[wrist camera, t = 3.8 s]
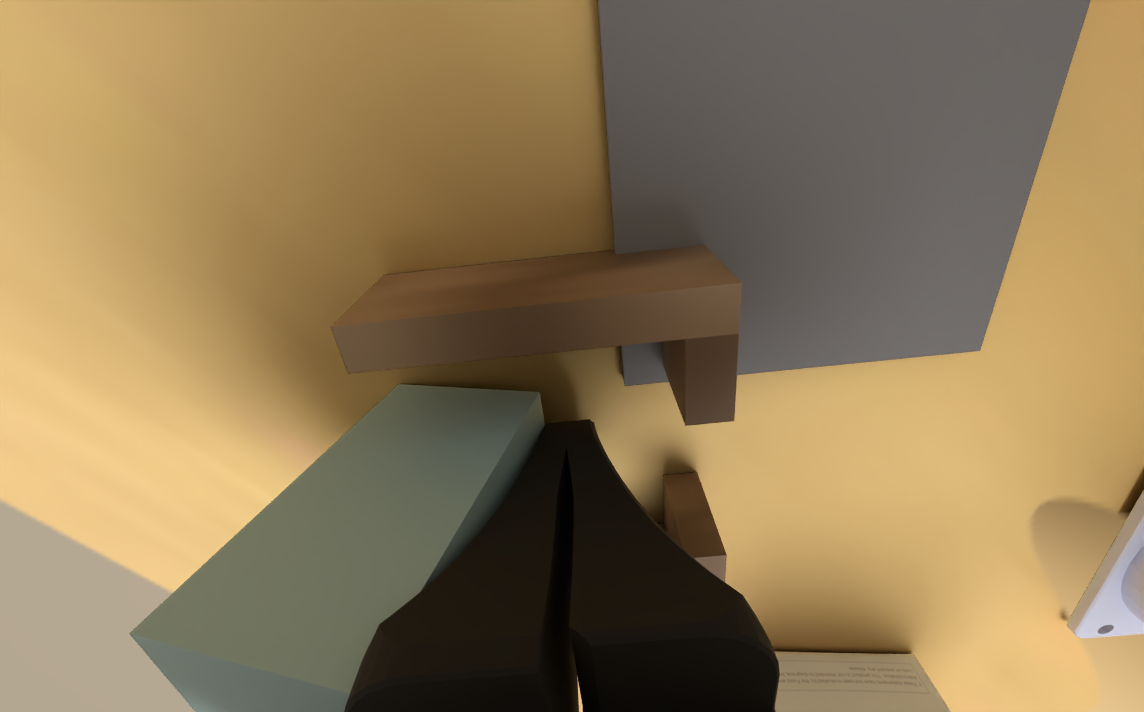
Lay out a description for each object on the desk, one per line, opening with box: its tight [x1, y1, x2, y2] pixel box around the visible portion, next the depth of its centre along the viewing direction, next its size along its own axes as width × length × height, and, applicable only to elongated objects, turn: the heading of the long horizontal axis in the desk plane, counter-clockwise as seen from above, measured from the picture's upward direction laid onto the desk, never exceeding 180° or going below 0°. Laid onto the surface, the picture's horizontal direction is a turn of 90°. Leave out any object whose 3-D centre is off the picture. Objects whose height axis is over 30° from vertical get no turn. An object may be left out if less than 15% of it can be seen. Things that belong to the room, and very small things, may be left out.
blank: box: [130, 384, 545, 712], centre depth 10 cm, size 4×4×7 cm
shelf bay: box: [331, 245, 742, 582], centre depth 12 cm, size 8×10×3 cm
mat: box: [597, 0, 1090, 386], centre depth 11 cm, size 9×9×1 cm
